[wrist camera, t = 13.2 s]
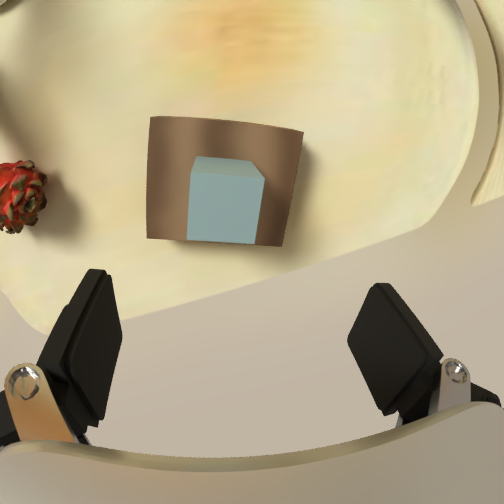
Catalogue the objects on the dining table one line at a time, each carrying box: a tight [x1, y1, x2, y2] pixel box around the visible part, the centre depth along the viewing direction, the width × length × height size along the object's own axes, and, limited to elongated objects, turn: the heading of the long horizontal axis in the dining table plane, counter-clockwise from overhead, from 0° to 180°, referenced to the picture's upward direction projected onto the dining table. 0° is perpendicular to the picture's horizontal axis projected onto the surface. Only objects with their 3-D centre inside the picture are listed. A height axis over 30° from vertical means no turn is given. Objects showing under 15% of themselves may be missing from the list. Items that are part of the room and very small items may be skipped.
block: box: [187, 156, 265, 244], centre depth 22 cm, size 5×5×7 cm
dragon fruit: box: [0, 160, 47, 234], centre depth 22 cm, size 8×8×12 cm
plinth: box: [146, 116, 304, 247], centre depth 27 cm, size 14×12×4 cm
